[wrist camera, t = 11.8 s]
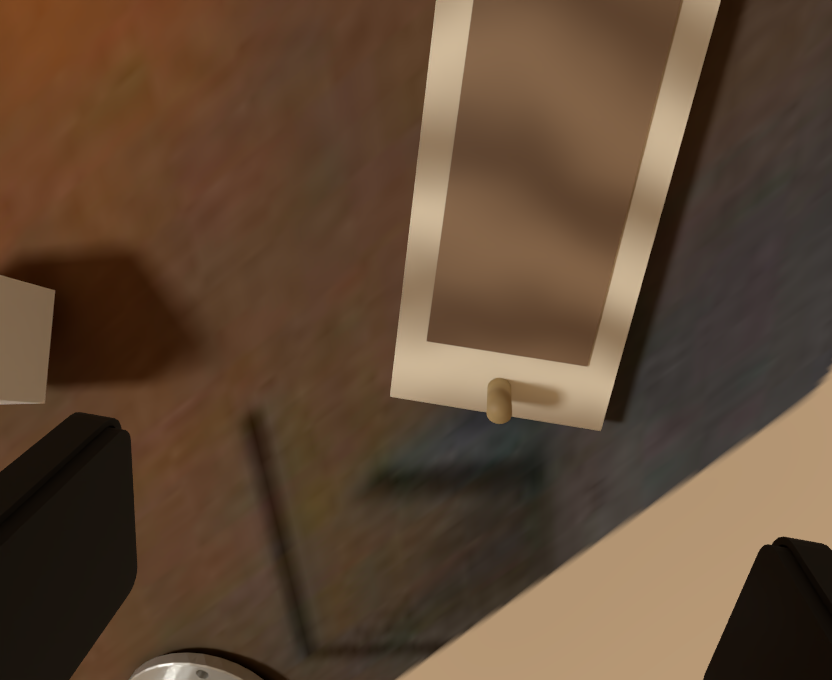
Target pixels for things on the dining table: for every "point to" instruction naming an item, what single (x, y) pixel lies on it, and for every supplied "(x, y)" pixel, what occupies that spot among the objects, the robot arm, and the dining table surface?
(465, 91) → the serving tray
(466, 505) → the dining table surface
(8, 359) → the white cube
